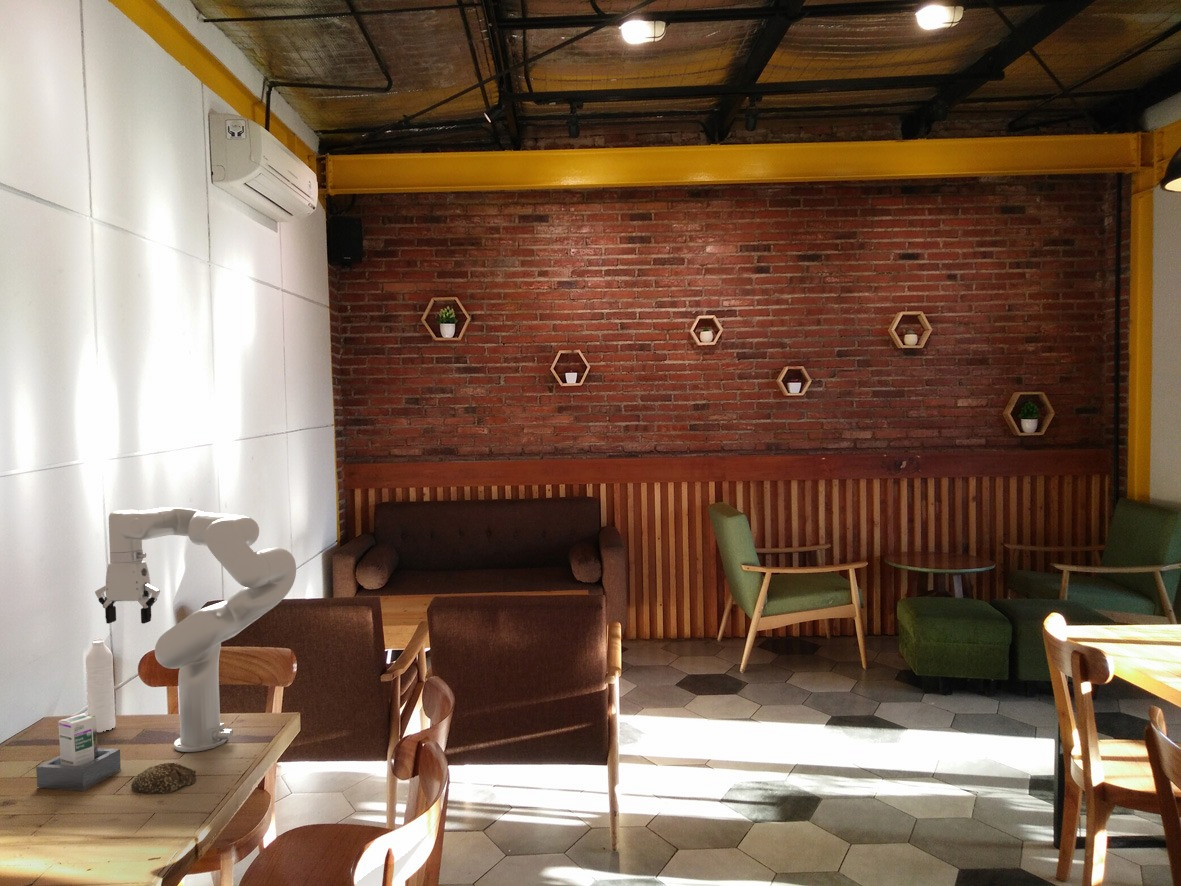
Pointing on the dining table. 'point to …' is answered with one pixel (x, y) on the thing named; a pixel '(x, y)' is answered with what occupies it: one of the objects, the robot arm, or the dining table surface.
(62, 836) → the dining table surface
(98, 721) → the water bottle
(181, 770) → the bread roll
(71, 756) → the syrup box
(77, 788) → the socket
